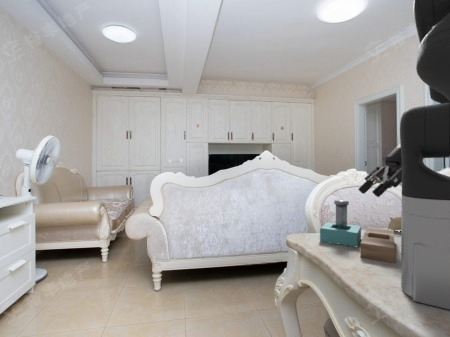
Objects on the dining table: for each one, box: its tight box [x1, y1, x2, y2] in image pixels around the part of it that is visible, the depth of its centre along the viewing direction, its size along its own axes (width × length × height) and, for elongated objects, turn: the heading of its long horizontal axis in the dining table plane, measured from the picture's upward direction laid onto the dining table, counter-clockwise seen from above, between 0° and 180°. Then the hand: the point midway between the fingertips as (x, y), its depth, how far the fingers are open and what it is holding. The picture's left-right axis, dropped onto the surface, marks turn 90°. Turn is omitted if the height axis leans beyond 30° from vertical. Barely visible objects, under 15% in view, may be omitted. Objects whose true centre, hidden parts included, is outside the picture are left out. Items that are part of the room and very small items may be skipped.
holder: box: [319, 221, 362, 247], centre depth 76 cm, size 10×10×4 cm
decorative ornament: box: [387, 215, 401, 230], centre depth 87 cm, size 4×8×5 cm, turn 116°
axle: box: [333, 199, 350, 230], centre depth 76 cm, size 4×4×12 cm
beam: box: [360, 226, 396, 264], centre depth 68 cm, size 20×7×4 cm, turn 146°
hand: (367, 193), depth 76 cm, fingers open, 8 cm apart
